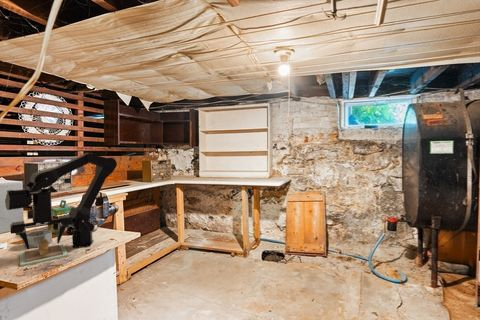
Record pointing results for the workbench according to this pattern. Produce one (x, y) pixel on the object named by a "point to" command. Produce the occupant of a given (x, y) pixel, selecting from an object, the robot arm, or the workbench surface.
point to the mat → (24, 263)
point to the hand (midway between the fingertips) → (43, 245)
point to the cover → (43, 251)
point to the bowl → (38, 237)
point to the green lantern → (59, 213)
